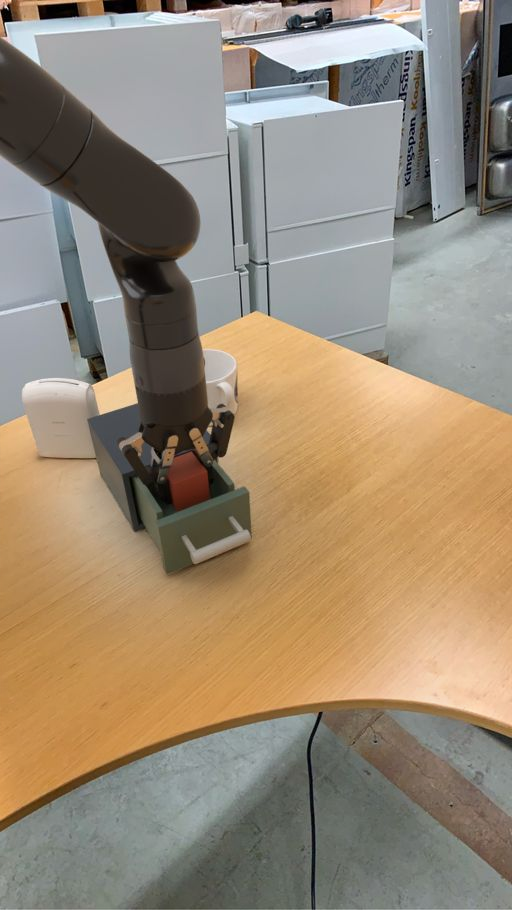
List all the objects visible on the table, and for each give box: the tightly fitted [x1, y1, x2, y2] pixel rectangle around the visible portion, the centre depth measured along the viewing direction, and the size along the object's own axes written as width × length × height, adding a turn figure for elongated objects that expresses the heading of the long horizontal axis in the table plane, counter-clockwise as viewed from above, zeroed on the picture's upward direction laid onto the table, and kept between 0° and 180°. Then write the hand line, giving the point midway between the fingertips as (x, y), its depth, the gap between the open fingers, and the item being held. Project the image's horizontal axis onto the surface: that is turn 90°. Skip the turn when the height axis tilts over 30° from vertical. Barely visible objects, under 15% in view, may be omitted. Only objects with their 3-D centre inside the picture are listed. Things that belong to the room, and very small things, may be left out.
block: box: [168, 452, 210, 512], centre depth 78 cm, size 4×4×4 cm
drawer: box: [129, 454, 253, 575], centre depth 79 cm, size 17×11×8 cm
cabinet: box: [87, 402, 219, 533], centre depth 88 cm, size 14×13×10 cm
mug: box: [202, 348, 239, 427], centre depth 102 cm, size 13×10×8 cm
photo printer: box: [21, 377, 101, 459], centre depth 94 cm, size 10×4×12 cm, turn 85°
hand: (185, 493), depth 79 cm, fingers closed on block, 4 cm apart
